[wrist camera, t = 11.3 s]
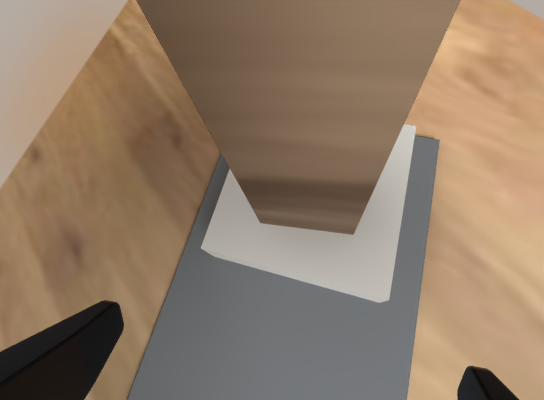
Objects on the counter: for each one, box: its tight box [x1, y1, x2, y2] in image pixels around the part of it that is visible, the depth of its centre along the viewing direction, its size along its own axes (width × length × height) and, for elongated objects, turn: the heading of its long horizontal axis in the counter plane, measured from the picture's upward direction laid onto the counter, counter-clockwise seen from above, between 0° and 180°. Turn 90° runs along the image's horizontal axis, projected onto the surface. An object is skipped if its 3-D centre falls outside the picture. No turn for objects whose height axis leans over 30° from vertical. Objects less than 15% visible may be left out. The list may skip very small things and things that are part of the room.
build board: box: [127, 124, 439, 400], centre depth 18 cm, size 20×14×3 cm
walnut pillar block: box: [136, 0, 460, 235], centre depth 11 cm, size 5×5×13 cm
